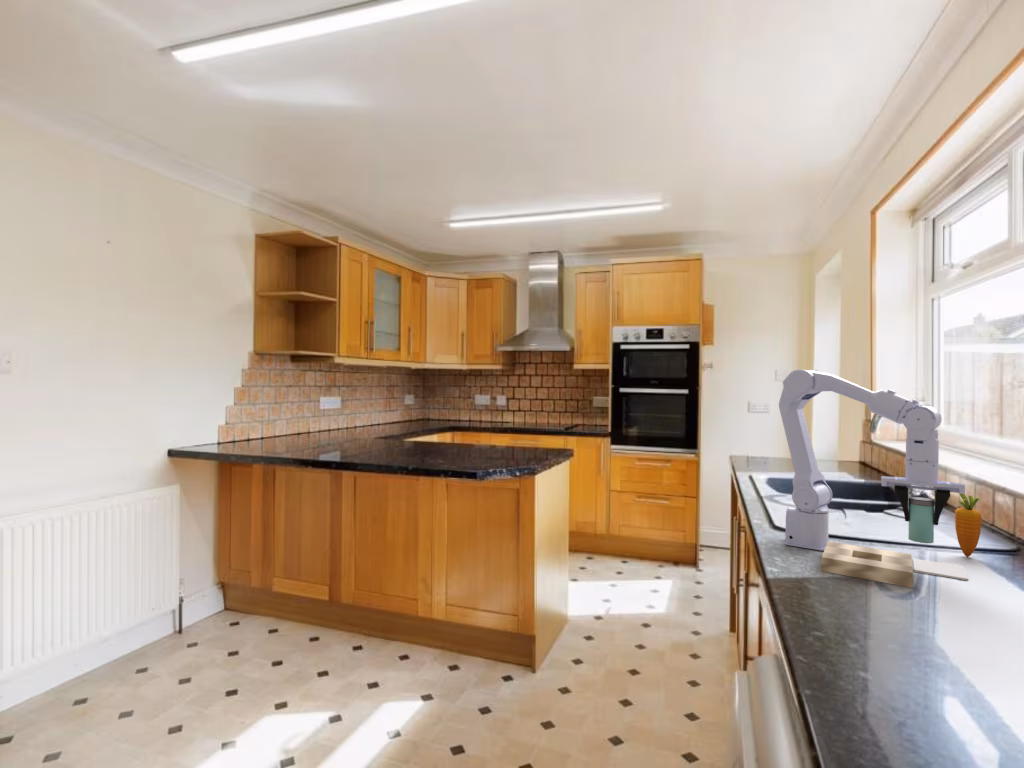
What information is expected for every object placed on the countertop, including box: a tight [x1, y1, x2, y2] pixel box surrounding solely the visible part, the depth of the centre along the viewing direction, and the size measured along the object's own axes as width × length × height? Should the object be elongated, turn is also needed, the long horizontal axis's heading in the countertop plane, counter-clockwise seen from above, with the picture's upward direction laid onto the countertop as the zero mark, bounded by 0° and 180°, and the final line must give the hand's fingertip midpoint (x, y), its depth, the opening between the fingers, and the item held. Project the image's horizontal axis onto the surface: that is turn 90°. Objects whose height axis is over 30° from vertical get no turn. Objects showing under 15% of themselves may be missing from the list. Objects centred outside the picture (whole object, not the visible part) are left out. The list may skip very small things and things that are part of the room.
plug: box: [907, 496, 935, 544], centre depth 119 cm, size 4×4×9 cm
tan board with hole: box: [821, 540, 914, 589], centre depth 119 cm, size 16×14×3 cm
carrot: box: [954, 493, 982, 558], centre depth 128 cm, size 5×5×15 cm
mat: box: [912, 557, 969, 582], centre depth 119 cm, size 9×9×1 cm
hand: (921, 522), depth 119 cm, fingers closed on plug, 4 cm apart
